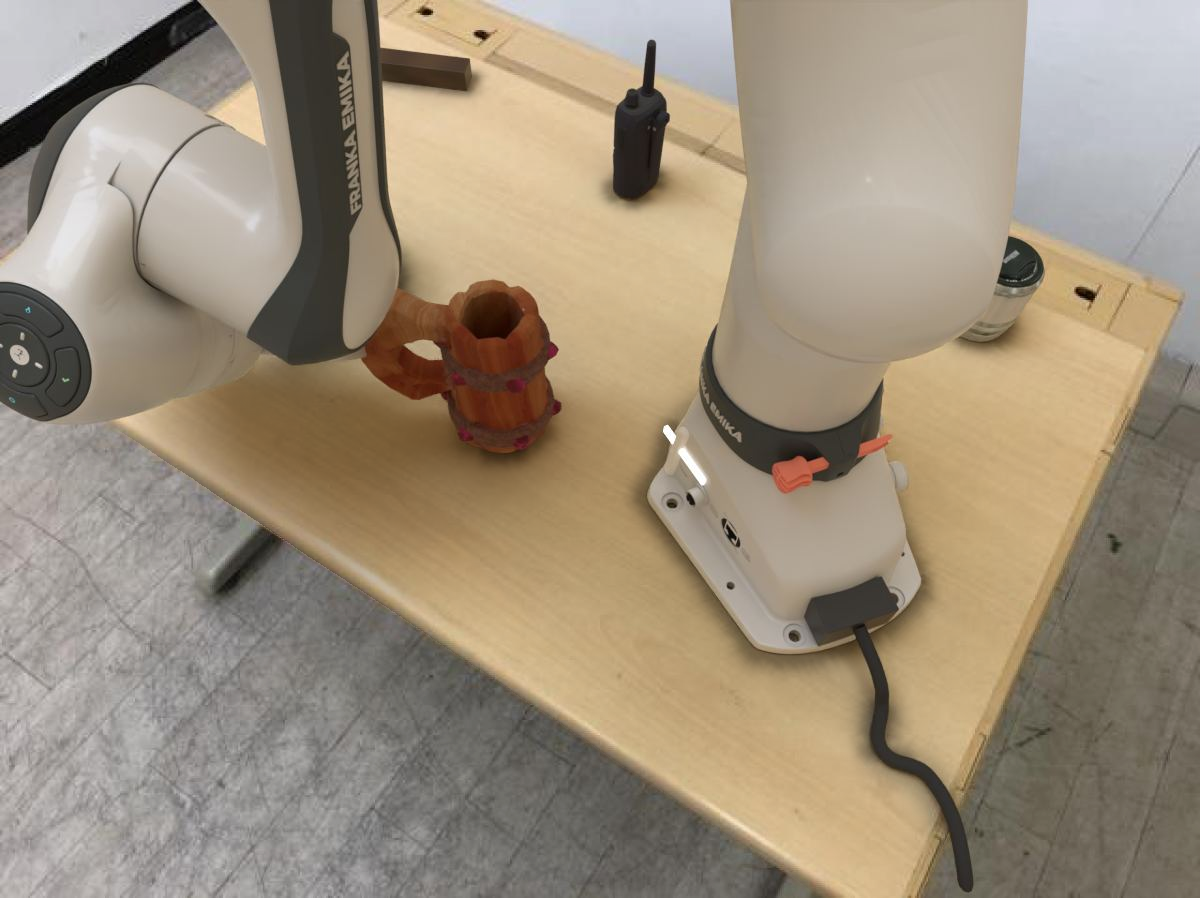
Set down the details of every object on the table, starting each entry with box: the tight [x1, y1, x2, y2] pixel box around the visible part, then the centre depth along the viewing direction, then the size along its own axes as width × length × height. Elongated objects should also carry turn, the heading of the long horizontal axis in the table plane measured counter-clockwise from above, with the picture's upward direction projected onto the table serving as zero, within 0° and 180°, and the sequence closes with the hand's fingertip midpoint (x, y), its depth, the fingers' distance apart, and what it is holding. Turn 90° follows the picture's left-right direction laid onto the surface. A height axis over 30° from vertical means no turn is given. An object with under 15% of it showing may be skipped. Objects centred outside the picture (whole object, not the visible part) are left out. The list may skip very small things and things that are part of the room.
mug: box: [360, 278, 563, 454], centre depth 66 cm, size 15×8×15 cm, turn 84°
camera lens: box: [959, 235, 1046, 343], centre depth 76 cm, size 6×6×8 cm
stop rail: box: [380, 47, 473, 92], centre depth 93 cm, size 14×2×2 cm, turn 81°
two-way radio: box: [612, 39, 671, 200], centre depth 80 cm, size 6×4×15 cm
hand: (279, 307), depth 71 cm, fingers closed
